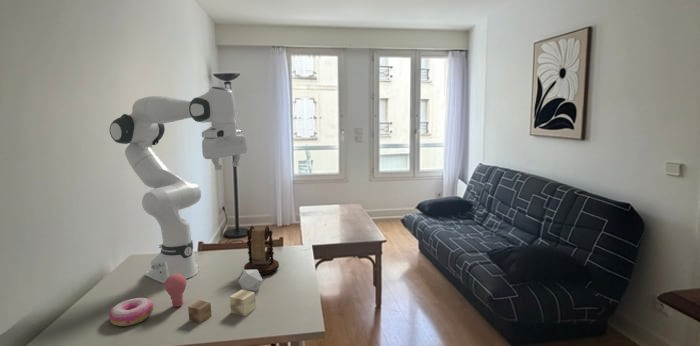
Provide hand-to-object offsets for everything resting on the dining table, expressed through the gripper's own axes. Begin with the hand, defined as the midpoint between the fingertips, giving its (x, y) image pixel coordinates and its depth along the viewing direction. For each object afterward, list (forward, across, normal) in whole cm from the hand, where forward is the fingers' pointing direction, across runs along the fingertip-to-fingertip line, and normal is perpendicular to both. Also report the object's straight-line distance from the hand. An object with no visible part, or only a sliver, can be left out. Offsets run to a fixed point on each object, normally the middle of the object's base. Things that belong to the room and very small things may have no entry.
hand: (227, 168), depth 152 cm
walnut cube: (+48, +24, +5) cm, 53 cm away
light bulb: (+48, +20, -9) cm, 53 cm away
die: (+48, 0, +7) cm, 48 cm away
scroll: (+48, -17, 0) cm, 51 cm away
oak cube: (+48, +14, +15) cm, 52 cm away
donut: (+48, +32, -17) cm, 60 cm away
